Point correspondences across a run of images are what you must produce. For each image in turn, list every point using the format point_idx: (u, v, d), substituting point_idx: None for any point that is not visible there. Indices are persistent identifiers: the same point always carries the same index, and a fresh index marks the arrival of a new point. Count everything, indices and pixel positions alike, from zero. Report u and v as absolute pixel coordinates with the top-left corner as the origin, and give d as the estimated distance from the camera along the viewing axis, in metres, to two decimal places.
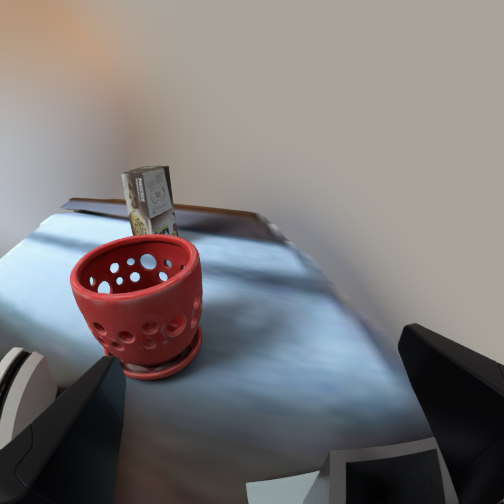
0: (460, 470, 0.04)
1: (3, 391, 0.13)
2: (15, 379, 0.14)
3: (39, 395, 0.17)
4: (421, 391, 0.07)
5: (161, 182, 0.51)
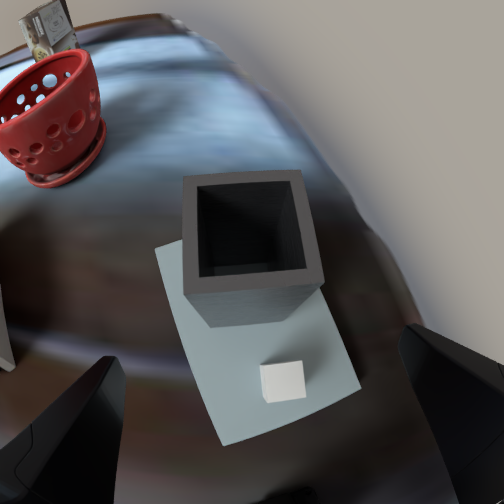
0: (460, 470, 0.04)
1: None
2: None
3: None
4: (421, 391, 0.07)
5: (58, 12, 0.24)
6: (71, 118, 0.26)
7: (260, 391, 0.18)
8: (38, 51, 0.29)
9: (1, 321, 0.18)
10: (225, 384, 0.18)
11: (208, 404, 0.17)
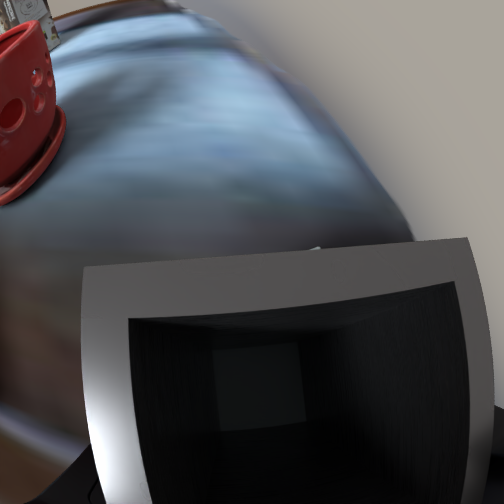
0: None
1: None
2: None
3: None
4: None
5: None
6: None
7: None
8: None
9: None
10: None
11: None
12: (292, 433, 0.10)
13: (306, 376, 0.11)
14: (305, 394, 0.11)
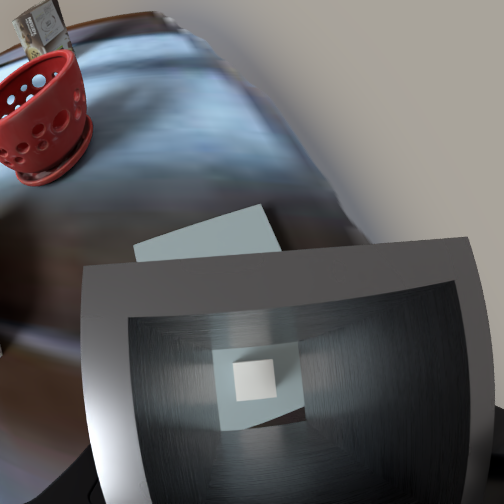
0: None
1: None
2: None
3: None
4: None
5: (51, 12, 0.24)
6: (60, 117, 0.26)
7: (234, 389, 0.18)
8: (31, 51, 0.29)
9: None
10: None
11: None
12: (292, 433, 0.10)
13: (306, 376, 0.11)
14: (305, 394, 0.11)
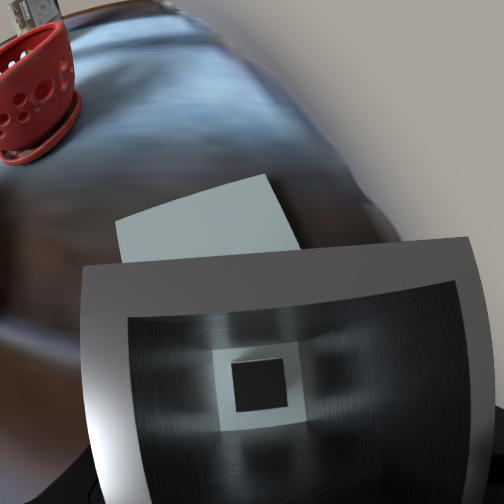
0: None
1: None
2: None
3: None
4: None
5: None
6: (48, 94, 0.22)
7: (233, 395, 0.14)
8: None
9: None
10: None
11: None
12: (293, 433, 0.10)
13: (306, 376, 0.11)
14: (305, 394, 0.11)
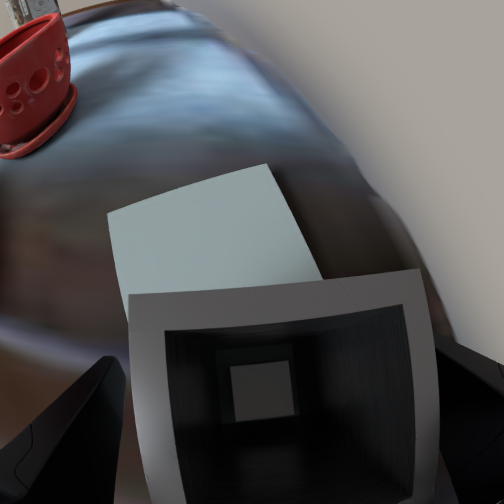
0: (460, 470, 0.04)
1: None
2: None
3: None
4: None
5: None
6: None
7: (232, 401, 0.13)
8: None
9: None
10: None
11: None
12: (287, 425, 0.11)
13: (299, 374, 0.13)
14: (298, 390, 0.13)
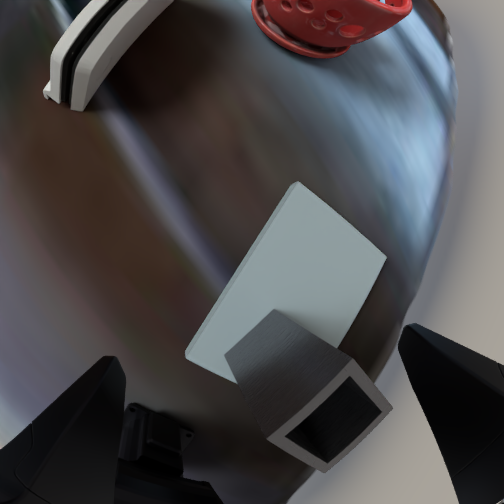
0: (460, 470, 0.04)
1: None
2: None
3: None
4: (421, 391, 0.07)
5: None
6: None
7: None
8: None
9: (112, 64, 0.17)
10: (238, 322, 0.21)
11: (211, 322, 0.20)
12: None
13: None
14: None
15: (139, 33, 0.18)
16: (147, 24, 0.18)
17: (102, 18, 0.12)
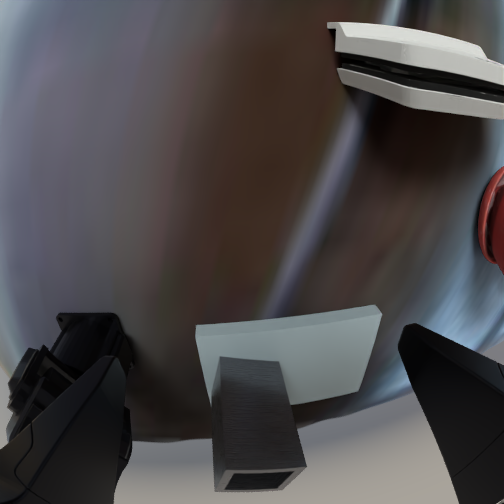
0: (460, 470, 0.04)
1: None
2: None
3: None
4: (421, 391, 0.07)
5: None
6: None
7: None
8: None
9: None
10: (252, 349, 0.22)
11: (238, 335, 0.22)
12: None
13: None
14: None
15: None
16: None
17: None
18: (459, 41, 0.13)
